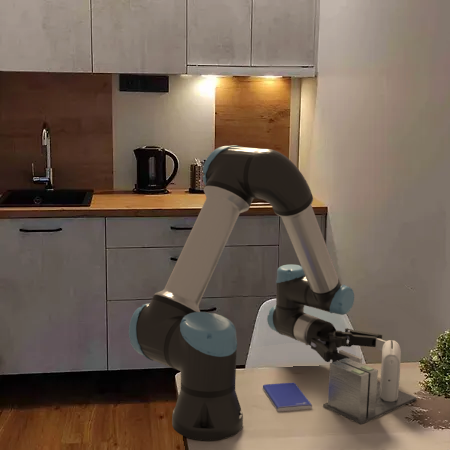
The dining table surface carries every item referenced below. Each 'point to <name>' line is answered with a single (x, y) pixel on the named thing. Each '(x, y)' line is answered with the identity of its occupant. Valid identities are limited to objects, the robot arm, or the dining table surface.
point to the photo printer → (390, 371)
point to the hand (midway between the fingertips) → (379, 357)
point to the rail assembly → (359, 392)
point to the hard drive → (286, 396)
